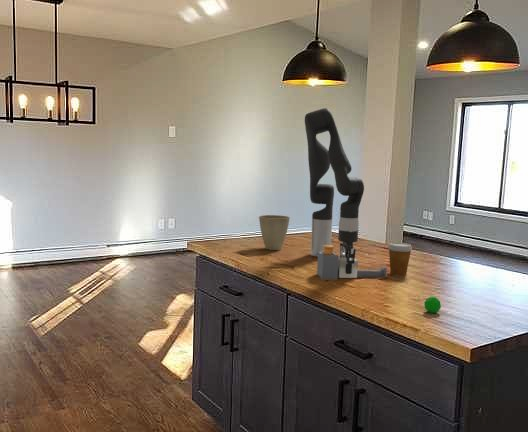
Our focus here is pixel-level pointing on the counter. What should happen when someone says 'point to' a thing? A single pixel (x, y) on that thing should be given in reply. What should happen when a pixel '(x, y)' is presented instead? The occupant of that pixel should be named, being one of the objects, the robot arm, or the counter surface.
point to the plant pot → (273, 230)
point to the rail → (371, 273)
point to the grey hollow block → (327, 266)
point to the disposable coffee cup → (399, 258)
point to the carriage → (343, 268)
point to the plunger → (328, 249)
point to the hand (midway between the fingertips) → (346, 271)
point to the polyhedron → (432, 305)
